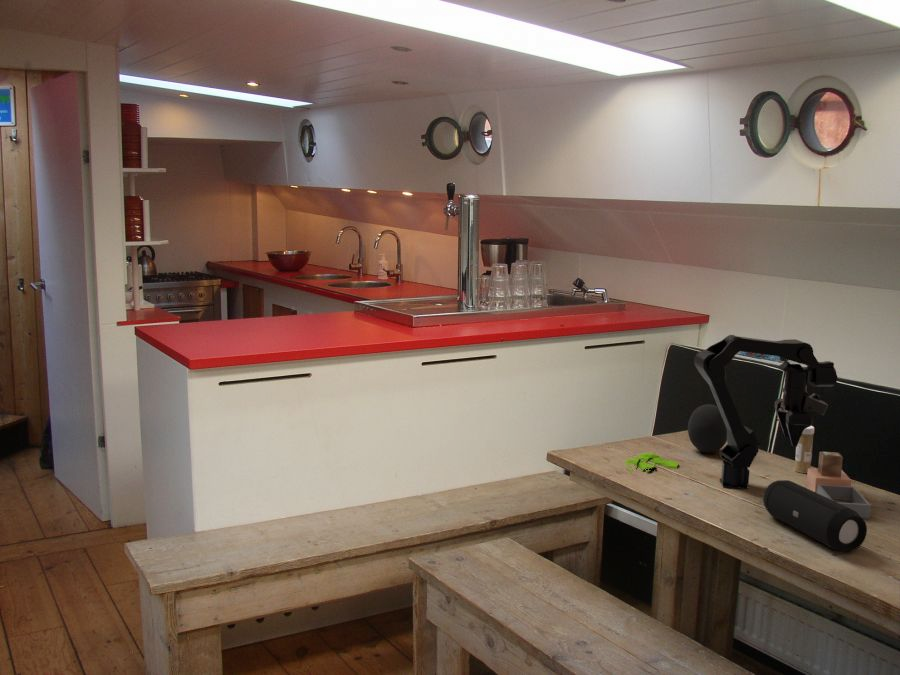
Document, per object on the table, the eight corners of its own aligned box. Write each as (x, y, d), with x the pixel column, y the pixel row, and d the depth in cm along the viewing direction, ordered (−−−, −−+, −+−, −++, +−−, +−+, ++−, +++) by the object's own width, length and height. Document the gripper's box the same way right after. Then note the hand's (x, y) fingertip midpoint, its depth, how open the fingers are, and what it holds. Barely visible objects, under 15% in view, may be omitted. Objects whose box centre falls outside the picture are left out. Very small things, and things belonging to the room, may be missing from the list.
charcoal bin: (831, 516, 223) (832, 502, 223) (816, 497, 237) (817, 484, 236) (869, 518, 222) (871, 505, 221) (853, 499, 236) (854, 486, 235)
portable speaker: (758, 517, 222) (761, 478, 220) (791, 513, 225) (794, 475, 223) (832, 557, 198) (836, 514, 196) (868, 552, 201) (872, 510, 199)
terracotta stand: (814, 494, 239) (816, 478, 239) (806, 483, 248) (807, 467, 247) (849, 496, 238) (851, 480, 237) (840, 485, 247) (841, 469, 246)
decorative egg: (697, 458, 269) (701, 410, 267) (679, 447, 281) (682, 400, 279) (735, 457, 272) (739, 409, 269) (715, 445, 284) (718, 399, 281)
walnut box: (821, 475, 241) (823, 455, 240) (817, 471, 245) (819, 451, 244) (841, 476, 240) (842, 456, 239) (836, 472, 244) (838, 452, 243)
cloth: (650, 453, 276) (651, 445, 275) (704, 473, 258) (705, 465, 257) (600, 462, 265) (600, 454, 265) (652, 484, 247) (652, 475, 247)
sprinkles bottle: (811, 474, 256) (815, 428, 254) (794, 472, 258) (798, 427, 255) (809, 469, 261) (814, 425, 258) (793, 468, 262) (797, 423, 260)
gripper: (836, 395, 233) (830, 453, 235) (817, 380, 251) (812, 434, 253) (791, 393, 234) (786, 450, 237) (776, 378, 252) (772, 432, 255)
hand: (790, 441), depth 245 cm, fingers open, 9 cm apart
